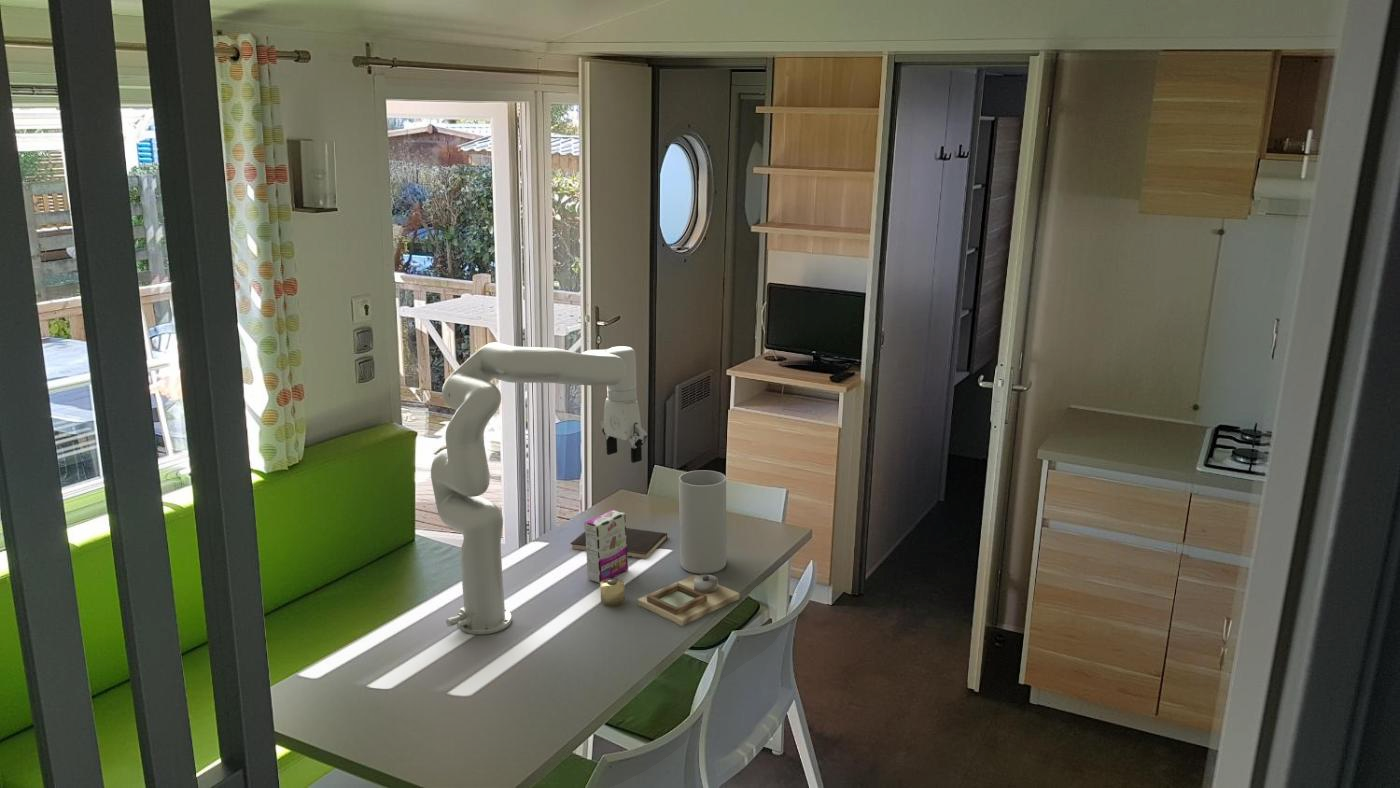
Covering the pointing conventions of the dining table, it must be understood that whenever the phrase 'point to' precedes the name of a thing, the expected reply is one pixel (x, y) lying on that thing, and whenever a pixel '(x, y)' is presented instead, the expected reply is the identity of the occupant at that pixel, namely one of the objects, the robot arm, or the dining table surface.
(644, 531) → the hardcover book
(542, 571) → the dining table surface
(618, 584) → the gold round vessel
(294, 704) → the dining table surface
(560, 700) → the dining table surface
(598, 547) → the candy bar box
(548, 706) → the dining table surface
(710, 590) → the carrier
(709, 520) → the cylinder vase
